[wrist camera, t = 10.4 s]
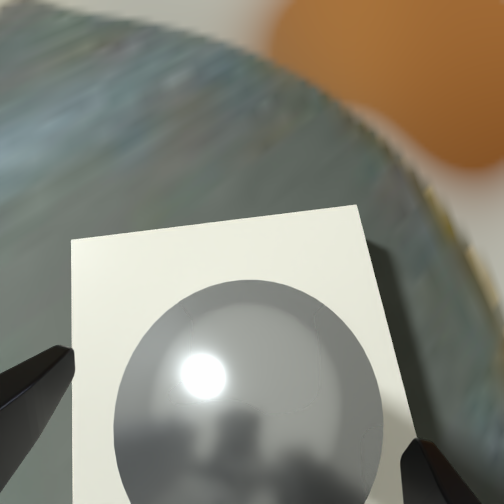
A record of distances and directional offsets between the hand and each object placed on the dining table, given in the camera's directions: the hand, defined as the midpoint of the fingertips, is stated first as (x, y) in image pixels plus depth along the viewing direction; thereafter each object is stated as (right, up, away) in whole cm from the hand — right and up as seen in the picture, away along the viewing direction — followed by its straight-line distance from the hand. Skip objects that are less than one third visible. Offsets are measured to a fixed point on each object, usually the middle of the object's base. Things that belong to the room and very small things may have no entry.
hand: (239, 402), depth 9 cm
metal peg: (0, -2, +9) cm, 9 cm away
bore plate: (0, -2, +9) cm, 9 cm away
